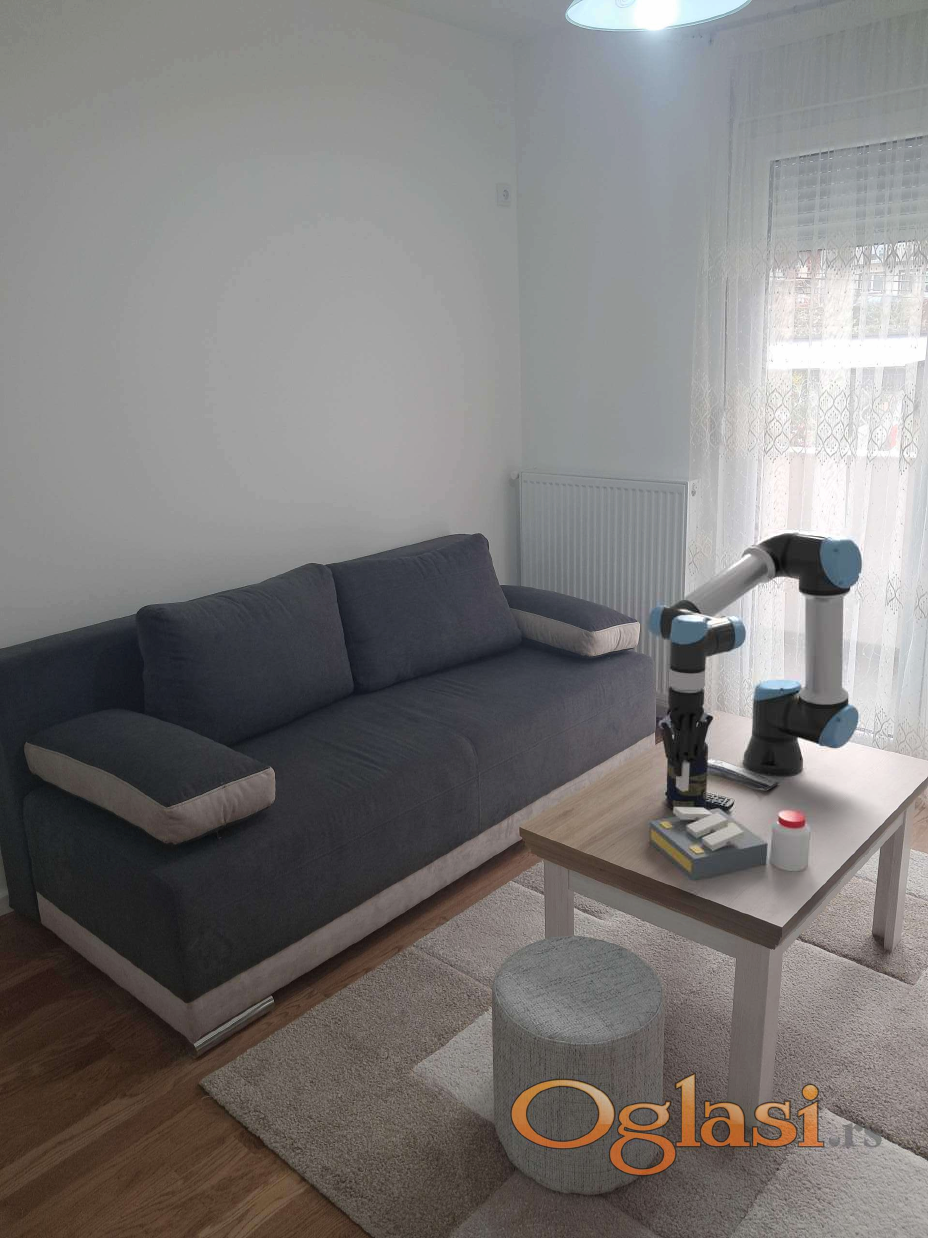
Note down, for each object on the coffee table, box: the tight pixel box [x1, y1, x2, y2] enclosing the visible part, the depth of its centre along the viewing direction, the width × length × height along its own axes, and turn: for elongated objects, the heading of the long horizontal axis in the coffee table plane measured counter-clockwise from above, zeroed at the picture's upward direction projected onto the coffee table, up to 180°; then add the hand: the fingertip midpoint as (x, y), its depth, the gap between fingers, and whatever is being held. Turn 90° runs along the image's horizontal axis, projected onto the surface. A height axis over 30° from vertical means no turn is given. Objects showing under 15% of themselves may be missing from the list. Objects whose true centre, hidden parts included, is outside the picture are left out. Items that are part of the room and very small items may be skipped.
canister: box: [665, 738, 709, 810], centre depth 226 cm, size 10×10×18 cm
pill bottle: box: [769, 809, 811, 872], centre depth 201 cm, size 8×8×11 cm
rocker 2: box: [686, 812, 728, 838], centre depth 205 cm, size 8×4×2 cm, turn 109°
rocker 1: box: [672, 807, 713, 821], centre depth 211 cm, size 8×4×2 cm, turn 110°
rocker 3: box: [702, 824, 744, 851], centre depth 200 cm, size 8×4×2 cm, turn 109°
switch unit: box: [649, 807, 769, 881], centre depth 206 cm, size 18×18×5 cm
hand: (682, 788), depth 208 cm, fingers closed
